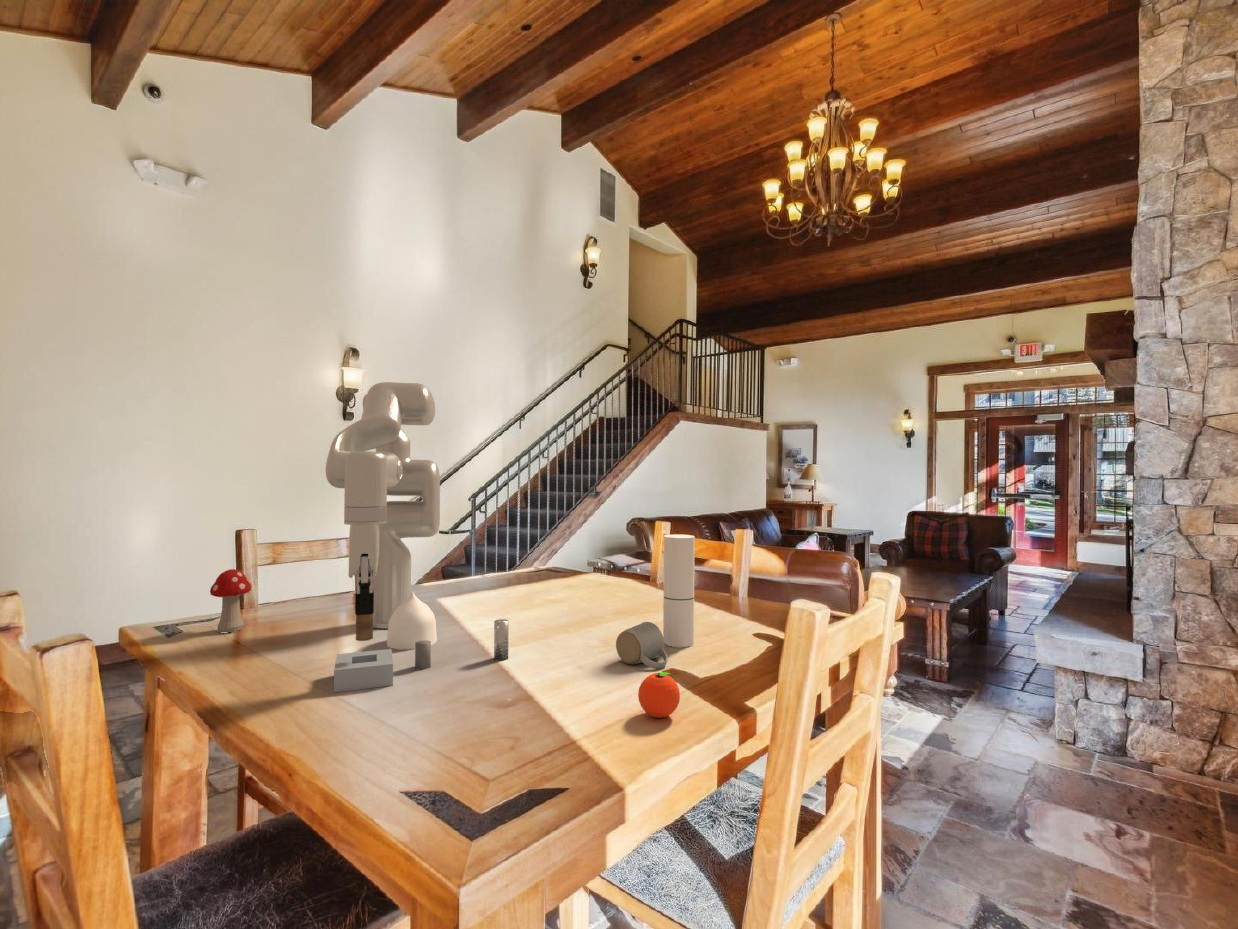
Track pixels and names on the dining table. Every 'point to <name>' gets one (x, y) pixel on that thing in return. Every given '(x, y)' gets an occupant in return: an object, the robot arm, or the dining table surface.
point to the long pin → (364, 622)
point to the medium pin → (501, 639)
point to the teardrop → (411, 624)
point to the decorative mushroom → (230, 598)
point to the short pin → (423, 654)
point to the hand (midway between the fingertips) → (364, 611)
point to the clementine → (659, 695)
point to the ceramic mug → (642, 645)
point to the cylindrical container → (678, 590)
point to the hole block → (363, 670)
